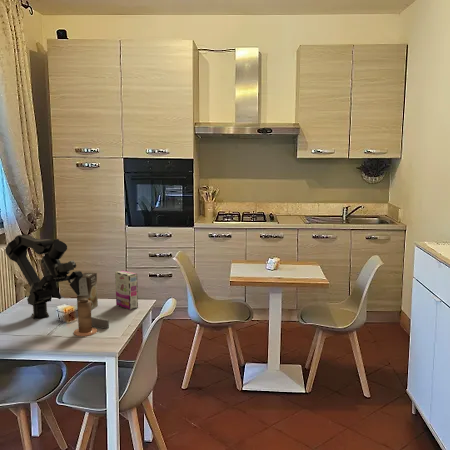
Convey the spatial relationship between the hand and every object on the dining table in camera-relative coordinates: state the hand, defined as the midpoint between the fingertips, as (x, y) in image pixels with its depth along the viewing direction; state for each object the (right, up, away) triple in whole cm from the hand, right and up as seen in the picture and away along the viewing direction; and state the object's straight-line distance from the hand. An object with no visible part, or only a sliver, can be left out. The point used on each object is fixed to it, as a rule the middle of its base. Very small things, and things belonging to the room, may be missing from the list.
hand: (69, 296), depth 197 cm
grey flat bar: (+10, -13, +4) cm, 17 cm away
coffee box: (0, -10, +27) cm, 29 cm away
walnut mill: (+7, -13, -3) cm, 15 cm away
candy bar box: (+17, -9, +30) cm, 36 cm away
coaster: (+7, -14, -3) cm, 16 cm away
